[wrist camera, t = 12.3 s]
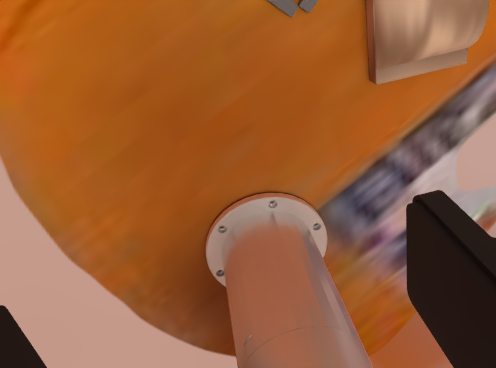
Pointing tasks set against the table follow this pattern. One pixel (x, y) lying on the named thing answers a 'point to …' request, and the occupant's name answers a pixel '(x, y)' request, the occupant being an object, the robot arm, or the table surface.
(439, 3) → the lane
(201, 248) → the table surface
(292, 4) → the grey piece
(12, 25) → the table surface
